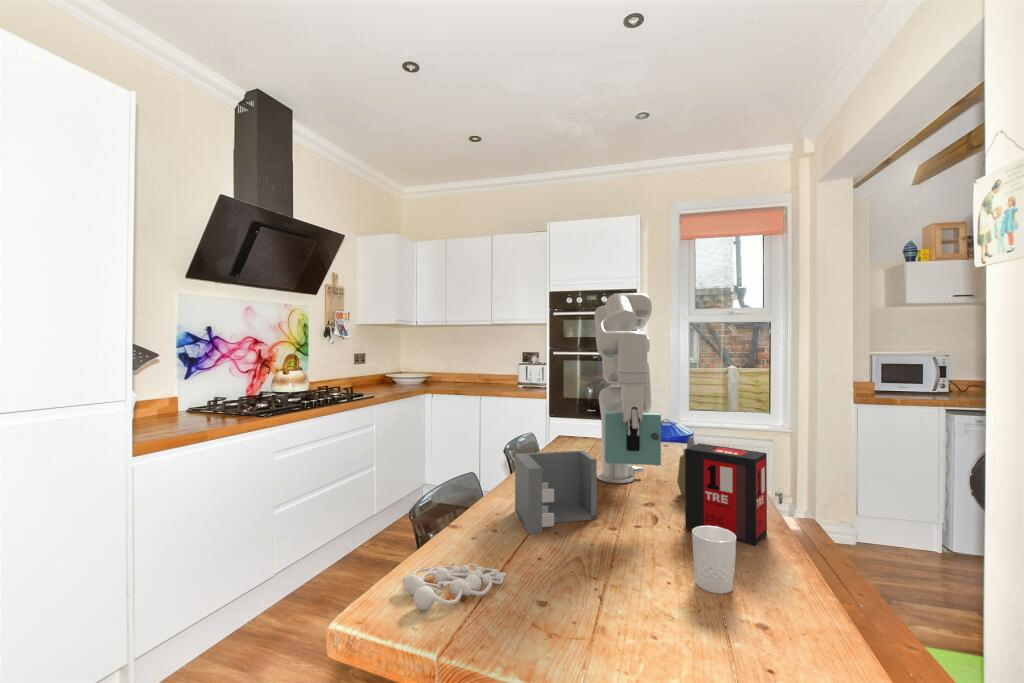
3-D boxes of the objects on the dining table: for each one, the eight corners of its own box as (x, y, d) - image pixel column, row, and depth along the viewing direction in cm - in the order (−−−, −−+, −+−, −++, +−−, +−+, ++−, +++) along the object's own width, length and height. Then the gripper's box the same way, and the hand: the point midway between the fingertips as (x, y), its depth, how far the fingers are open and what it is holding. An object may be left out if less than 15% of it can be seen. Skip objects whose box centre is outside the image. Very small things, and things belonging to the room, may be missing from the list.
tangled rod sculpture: (486, 568, 102) (486, 548, 102) (519, 594, 89) (518, 571, 90) (396, 588, 93) (396, 566, 93) (418, 619, 80) (419, 593, 80)
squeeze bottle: (676, 498, 143) (676, 438, 143) (678, 490, 150) (677, 433, 150) (705, 501, 140) (705, 440, 140) (705, 493, 147) (705, 435, 147)
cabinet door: (658, 462, 125) (659, 412, 125) (661, 466, 121) (661, 415, 121) (604, 460, 127) (605, 411, 127) (605, 464, 123) (605, 414, 123)
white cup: (733, 600, 87) (733, 545, 87) (688, 588, 91) (688, 536, 91) (738, 581, 93) (738, 530, 93) (696, 571, 97) (696, 522, 97)
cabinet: (583, 506, 136) (583, 450, 136) (605, 527, 120) (605, 464, 120) (515, 511, 132) (515, 453, 132) (528, 534, 116) (528, 468, 116)
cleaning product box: (685, 527, 121) (685, 448, 121) (699, 517, 127) (699, 443, 127) (755, 546, 109) (755, 459, 109) (766, 534, 116) (766, 453, 116)
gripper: (615, 376, 133) (615, 441, 133) (620, 382, 117) (620, 456, 117) (643, 376, 132) (643, 442, 132) (651, 382, 116) (651, 457, 116)
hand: (632, 448), depth 125 cm, fingers closed on cabinet door, 3 cm apart
